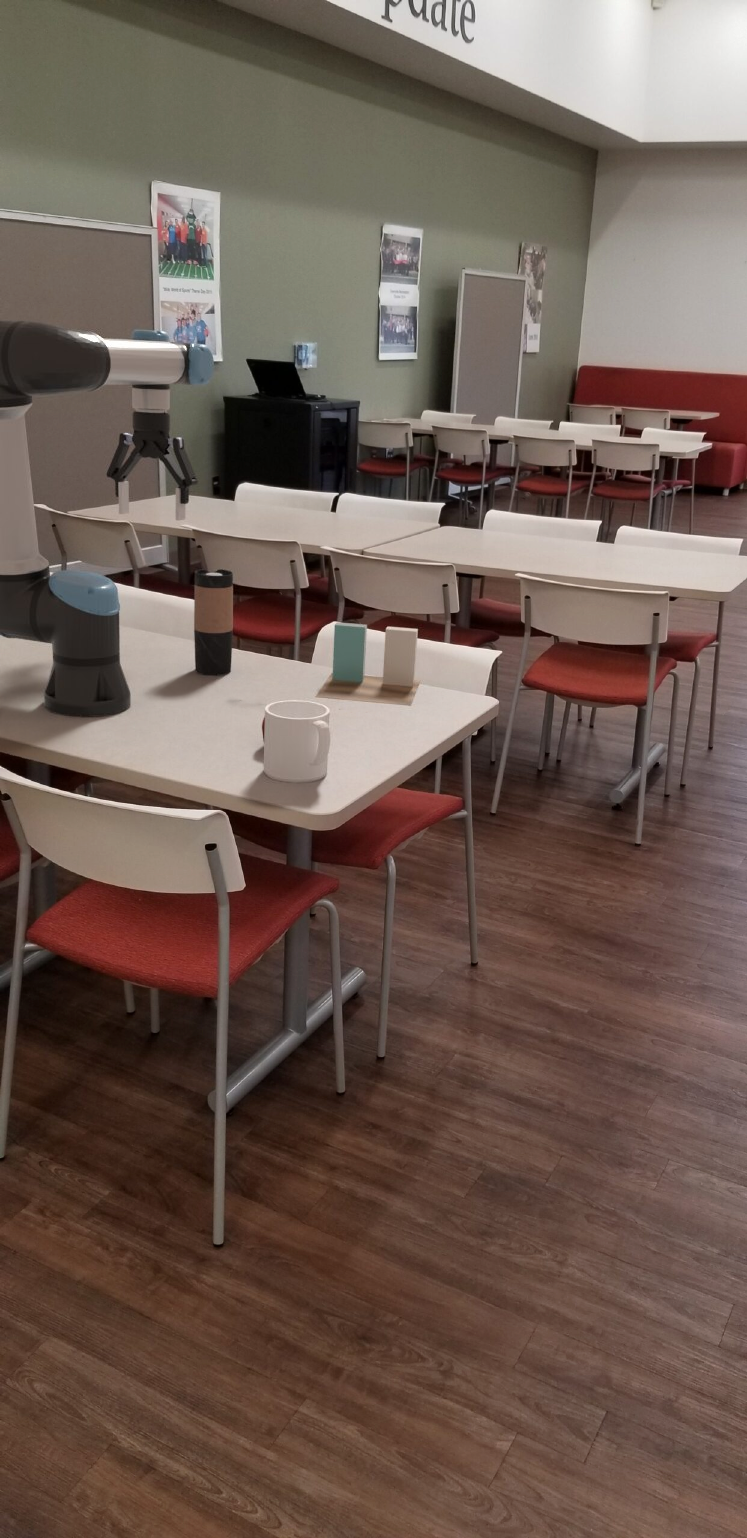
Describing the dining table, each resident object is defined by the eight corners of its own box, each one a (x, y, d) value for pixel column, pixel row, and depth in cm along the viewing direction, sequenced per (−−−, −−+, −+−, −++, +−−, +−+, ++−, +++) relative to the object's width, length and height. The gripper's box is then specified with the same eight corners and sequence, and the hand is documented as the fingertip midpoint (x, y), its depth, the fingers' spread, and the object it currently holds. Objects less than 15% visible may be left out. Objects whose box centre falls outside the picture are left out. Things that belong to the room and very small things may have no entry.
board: (410, 711, 222) (410, 705, 221) (315, 702, 224) (315, 696, 223) (420, 686, 238) (420, 680, 238) (331, 678, 240) (331, 672, 240)
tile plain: (412, 686, 233) (416, 631, 230) (382, 684, 234) (385, 629, 230) (414, 683, 235) (417, 628, 232) (384, 680, 236) (387, 626, 232)
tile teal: (362, 682, 234) (365, 627, 231) (332, 679, 235) (334, 624, 231) (364, 679, 237) (367, 624, 233) (334, 676, 237) (336, 622, 234)
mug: (251, 768, 188) (252, 705, 185) (302, 757, 194) (304, 696, 191) (297, 792, 179) (300, 727, 176) (350, 780, 185) (353, 717, 182)
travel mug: (216, 677, 236) (216, 577, 230) (186, 670, 240) (186, 571, 233) (239, 670, 243) (241, 572, 236) (210, 663, 246) (210, 567, 240)
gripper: (214, 414, 242) (213, 520, 249) (108, 405, 250) (110, 508, 257) (196, 415, 235) (195, 524, 242) (88, 406, 243) (90, 512, 250)
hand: (151, 516), depth 250 cm, fingers open, 13 cm apart
